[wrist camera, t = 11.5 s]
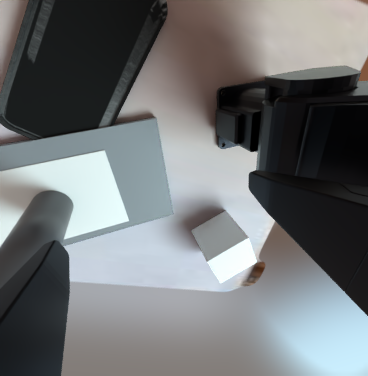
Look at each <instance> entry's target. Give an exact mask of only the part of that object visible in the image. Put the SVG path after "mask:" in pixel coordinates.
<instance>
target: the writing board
mask: <svg viewBox="0 0 368 376" xmlns="http://www.w3.org/2000/svg"><path fill="white" fill-rule="evenodd" d="M48 190H53V191H59V192H62V193H64V194H66V195H67V196H68V197H69V198H70V199H71V200H72V202H73V206H74V207H73V211H72V215H71V218H70V221H69V224H68V227H67V231H66V234H65V237H64V240H63V243H62V246H66V245H69V244H73V243H76V242H80V241H83V240H86V239H90V238H93V237H97V236H100V235H104V234H107V233H111V232H114V231H117V230H121V229H124V228H128V227H131V226H135V225H138V224H142V223H145V222H148V221H152V220H155V219H159V218H162V217H166V216H169V215H173V214H174V213H173V208H172V202H171V197H170V191H169V185H168V180H167V174H166V169H165V163H164V158H163V152H162V147H161V141H160V135H159V130H158V124H157V119H156V118H155V117H153V118H147V119H142V120H136V121H130V122H125V123H119V124H114V125H113V126H111V127H110V126H109V127H103V128H98V129H92V130H87V131H81V132H76V133H70V134H65V135H59V136H53V137H48V138H42V139H39V140H33V139H30V140H24V141H18V142H13V143H7V144H2V145H0V247H1V245H2V244H3V242H4V241H5V239H6V238H7V236H8V235H9V233H10V232H11V230H12V229H13V227H14V226H15V224H16V223H17V221H18V220H19V218H20V217H21V216H22V214H23V213H24V211H25V210H26V208H27V207H28V205H29V204H30V202H31V201H32V199H33V198H34V197H35V196H36V195H37V194H38V193H40V192H43V191H48Z"/></svg>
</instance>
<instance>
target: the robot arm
mask: <svg viewBox="0 0 368 376" xmlns="http://www.w3.org/2000/svg"><path fill="white" fill-rule="evenodd" d="M360 74H361V71H358V70H356V69H353V68H351V67H348V66H334V67H322V68H312V69H306V70H300V71H294V72H288V73H283V74H277V75H271V76H265V80H264V81H258V82H252V83H245V84H239V85H233V86H226V87H221V88H219V89H218V91H217V110H216V134H217V135H218V147H219V148H221V149H226V148H230V147H234V146H241V147H243V148H245V149H247V150H248V151H250V152H254V151H255V152H257V153H258V155H257V166H256V170H255V171H253V172H250V173H249V190H250V191H251V193H252V194H253V195H254V196H255V198H256V199H257V200H258V202H259V203H260V204H261V205H262V207H263V208H264V209H265V210H266V212H267V213H268V214H269V215H270V216H271V217H272V218H273V219H274V220H275V221H276V222H277V223H278V224H279V225H280V226H281V227H282V228H283V229H284V230H285V231H286V232H287V233H288V234H289V235H290V236H291V237H292V238H293V240H294V241H295V242H297V244H299V246H300V247H302V249H303V250H304V251H305V252H306V253H307V254H308V255H309V256H310V257H311V258H312V259H313V260H314V261H315V262H316V263H317V264H318V265H319V266H320V267H321V268H322V269H323V270H324V271H325V272H326V273H327V274H328V275H329V276H330V278H331V279H332V280H333V281H334V282H336V284H337V285H338V286H339V287H340V288H341V289H342V290H343V291H345V293H346V294H347V295H348V296H349V297H350V298H351V299H352V300H353V301H354V302H355V303H356V304H357V305H358V306H359V307H360V308H361V309H362V310H363V311H364V312H365V314H367V316H368V81H358V80H359V77H360ZM222 90H223V91H224V94H223V95H221V92H222ZM222 143H224V145H223V146H221V145H222ZM69 289H70V279H69V255H68V252H67V251H66V250H65V248H64V247H63V246H62V244H61V243H60V242H59V241H58V240H53V241H50V242H47V243H45V244H44V245H43V246H42V247H41V248H40V249H39V250H38V251H37V252H36V253H35V254H34V255H33V256H32V257H31V258H30V259H29V260H28V261H27V262H26V263H25V264H24V265H23V266H22V267H21V268H20V269H19V270H18V271H17V272H16V273H15V274H14V275H13V276H12V277H11V278H10V279H9V280H8V281H7V282H6V283H5V284H4V285H3V286H2V287H1V288H0V376H61V371H62V370H61V369H62V360H63V351H64V341H65V332H66V322H67V313H68V303H69V293H70V290H69Z"/></svg>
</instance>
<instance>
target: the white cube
mask: <svg viewBox="0 0 368 376" xmlns="http://www.w3.org/2000/svg"><path fill="white" fill-rule="evenodd" d="M191 231H192V233H193V235H194V237H195V239H196V241H197V243H198V245H199V247H200V249H201V251H202V253H203V255H204V257H205V259H206V261H207V263H208V264H209V266H210V267H211V269H212V271H213V272H214V274H215V275H216V277H217V279H218V280H219V282H220V283H222V282H224V281H226V280H228V279H229V278H231V277H233V276H234V275H236V274H238V273H239V272H241V271H243V270H244V269H246V268H248V267H250V266H251V265H253V264H255V263H256V262H257V261H256V258H255V255H254V252H253V249H252V246H251V243H250V240H249V237H248V236H247V235H246V234H245V233H244V231H243V230H242V229H241V228H240V227H239V226H238V224H237V223H236V222H235V221H234V220H233V218H232V217H231V216H230V215H229V214H228V213H227V211H224V212H222V213H220V214H219V215H217V216H215V217H213V218H212V219H210V220H208V221H206V222H205V223H203V224H201V225H199V226H198V227H196V228H194V229H192V230H191Z"/></svg>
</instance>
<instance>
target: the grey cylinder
mask: <svg viewBox="0 0 368 376" xmlns="http://www.w3.org/2000/svg"><path fill="white" fill-rule="evenodd" d="M73 207H74V206H73V202H72V200H71V199H70V198H69V197H68V196H67V195H66V194H64V193H62V192H59V191H53V190H48V191H43V192H40V193H38V194H37V195H36V196H35V197H34V198H33V199H32V201H31V202H30V204H29V205H28V207H27V208H26V210H25V211H24V213H23V214H22V216H21V217H20V218H19V220H18V221H17V223H16V224H15V226H14V227H13V229H12V230H11V232H10V233H9V235H8V236H7V238H6V239H5V241H4V242H3V244H2V245H1V247H0V288H1V287H2V286H3V285H4V284H5V283H6V282H7V281H8V280H9V279H10V278H11V277H12V276H13V275H14V274H15V273H16V272H17V271H18V270H19V269H20V268H21V267H22V266H23V265H24V264H25V263H26V262H27V261H28V260H29V259H30V258H31V257H32V256H33V255H34V254H35V253H36V252H37V251H38V250H39V249H40V248H41V247H42V246H43V245H44V244H45V243H47V242H50V241H53V240H58V241H59V242H60V243H61V244H62V243H63V240H64V237H65V234H66V231H67V227H68V224H69V221H70V218H71V215H72V211H73Z"/></svg>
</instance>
